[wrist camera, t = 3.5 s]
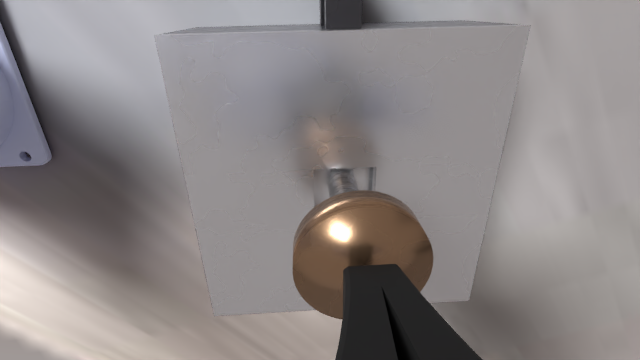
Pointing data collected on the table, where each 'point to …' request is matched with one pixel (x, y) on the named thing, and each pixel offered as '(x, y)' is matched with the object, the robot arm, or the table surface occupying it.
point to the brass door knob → (354, 237)
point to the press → (337, 137)
